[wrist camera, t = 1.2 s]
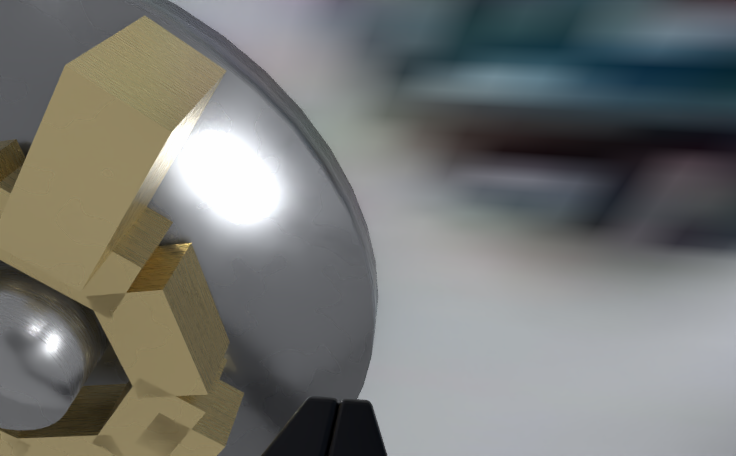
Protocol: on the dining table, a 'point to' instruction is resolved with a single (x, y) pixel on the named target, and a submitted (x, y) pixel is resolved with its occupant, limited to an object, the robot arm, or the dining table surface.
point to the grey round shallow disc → (201, 234)
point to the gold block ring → (122, 248)
